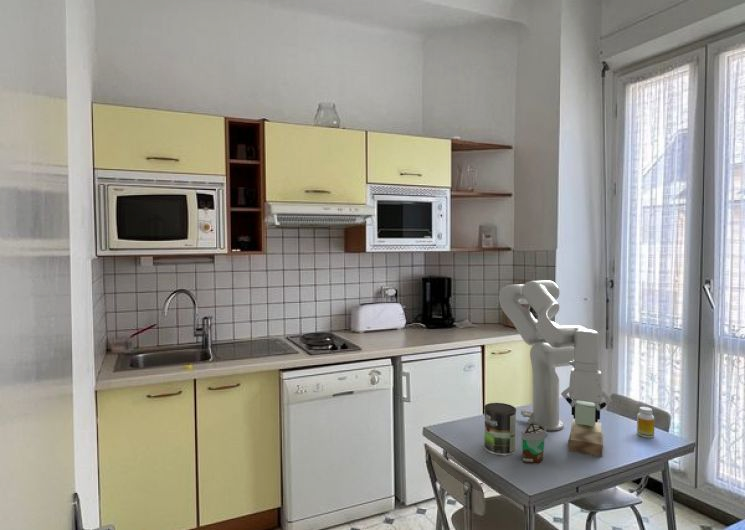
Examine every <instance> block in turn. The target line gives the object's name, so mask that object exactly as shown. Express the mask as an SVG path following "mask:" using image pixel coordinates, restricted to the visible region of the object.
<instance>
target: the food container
mask: <svg viewBox="0 0 745 530" xmlns="http://www.w3.org/2000/svg"><path fill="white" fill-rule="evenodd" d="M547 437H548V433H547V430H546V429H545V427H544V426H543V425H541V424H539V423H537V422H533V421H531V424H529V426H527V428H526V429H525V431H524V432H521V440H522V441H521V443H522V463H523V464H528V465H536V464H540V463H542V462H543V461H544V449H545V439H546V438H547Z"/></svg>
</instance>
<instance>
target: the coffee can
mask: <svg viewBox="0 0 745 530" xmlns="http://www.w3.org/2000/svg"><path fill="white" fill-rule="evenodd" d="M483 408H484V439H483V440H484V442H483V443H484V444H483V445H484V446H483V447H484V450H485V451H486V452H487V453H489V454H492V455H496V456H501V457H502V456H503V457H504V456H506V457H507V456H512V455H514V454H516V433H517V432H516V428H517V427H516V423H517V421H516V420H517V416H516V415H517V408H516V407H515V406H514V405H511V404H507V403H504V402H502V403H501V402H490V403H486V404H485V405H484V407H483Z"/></svg>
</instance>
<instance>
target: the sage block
mask: <svg viewBox="0 0 745 530" xmlns="http://www.w3.org/2000/svg"><path fill="white" fill-rule="evenodd" d="M595 410H596V406H595V403H592V402H585V401H579V400H577V401H576V404H575V423H577V424H583V425H589V426H595V423H596V422H595Z"/></svg>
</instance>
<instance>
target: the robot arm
mask: <svg viewBox="0 0 745 530" xmlns="http://www.w3.org/2000/svg"><path fill="white" fill-rule="evenodd" d="M559 297H560V288H559V286H558V285H557V283H555V282H554V281H552V280H530V281H528V282H525V283H519V284H517V283H516V284H514V283H513V284H508V285H504V286H503V287H502V288H501V289H500V290H499V293H498V298H499V299H498V300H499V304H500V307H501V310H502V311H503V313H504V315H506V317H507V318H508V319H509V320H510V321H511V323H512V324H513V325H514V327H515V329H516V330H517V332H518V333H519V335H520V337H521V338H522V339H523V342H524V343H526V344H527V345H528V346H532V347H530V351H529V355H530V356H529V358H530V364H531V369H532V370H531V371H532V372H531V373H532V410H526V409H521V410H520V415H521V416H522V417H525V418H528V421H527V422H528V425H530V424H531V421H533V422H537V423H539V424H541V425H543V426H544V427H545V429H546V431H560V430H562V429H563V428H564V422H563V420H560V395H561V396H562V397H563V399H565V401H566V402H567V403H568V404H569V405H570V407H571V416H573V419H575V404H576V402H577V400H579V401H585V402H592V403H595V406H596V410H595V422H597V423H599V422H598V420H601V410H603V409H604V408H605V407H606V406H608V405H609V404H611V403H612V398H611V397H610V396H609V395H608V394H607V393H606V392H605V391H604V389H603V388H604V387H603V386H604V385H603V377H602V371H600V370H599V368H600V367H599V365H600V363H599V362H600V360H599V359H600V355H599V354H600V333H599V332H598V331H596V330H594V329H590V328H586V327H584V326H582V325H578V324H574V325H573V324H572V325H568V324H567V325H560V324H558V323H556V322H555V321H552V320H551V319H554V317H555V316H556V315H557V314H558V313H559V312H560V304H559V303H558V301H557V300H558V299H559ZM523 305H529V306H530V307H531V308H532V309H533V310H534V312H535V313H536V314H537V315H538V316H537V318H535V316H534V315H533V313H532V312H531V311H530V310H529V309H527V308H526V307H524V306H523ZM568 366H569V367H570V366H572V368H571V369H570V375H569V383H568V384H569V385H568V387H567V388H566V389H564V390H563V391H562V392H561V393H560V378H559V375H558V374H557V372H556V371H555V368H561V367H562V368H563V367H568ZM603 399H604V401H603Z"/></svg>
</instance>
